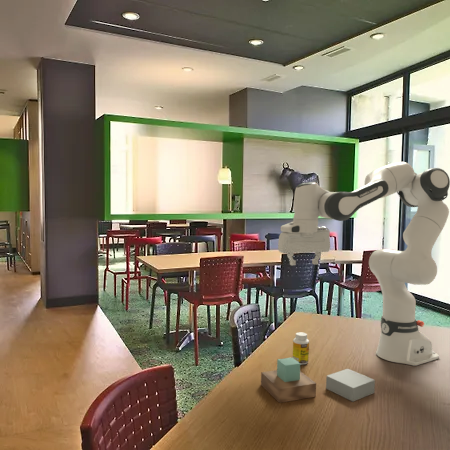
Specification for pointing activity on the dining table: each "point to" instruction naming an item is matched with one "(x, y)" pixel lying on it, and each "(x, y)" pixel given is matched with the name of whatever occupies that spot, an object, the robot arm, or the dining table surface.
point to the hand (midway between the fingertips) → (304, 264)
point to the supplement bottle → (301, 348)
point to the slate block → (350, 384)
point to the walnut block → (288, 387)
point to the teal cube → (288, 369)
